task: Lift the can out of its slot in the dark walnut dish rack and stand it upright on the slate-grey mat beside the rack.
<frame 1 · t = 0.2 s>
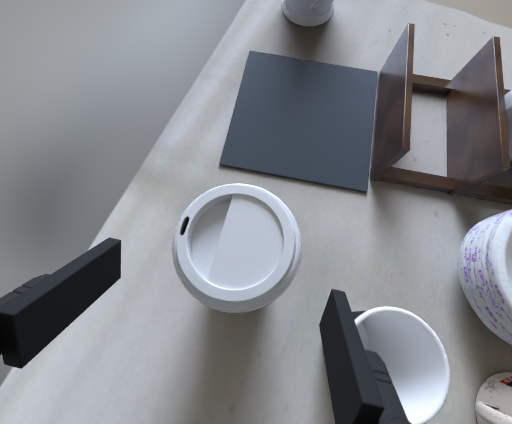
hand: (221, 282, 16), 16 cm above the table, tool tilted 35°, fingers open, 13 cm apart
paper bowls: (499, 280, 31), on the table
coffee cup: (244, 261, 32), on the table
rack: (449, 136, 37), on the table
teacup with lid: (498, 410, 27), on the table
mat: (302, 116, 37), on the table
can: (485, 143, 37), resting in rack
dixie cup: (344, 336, 29), on the table
glass holder: (307, 20, 43), on the table
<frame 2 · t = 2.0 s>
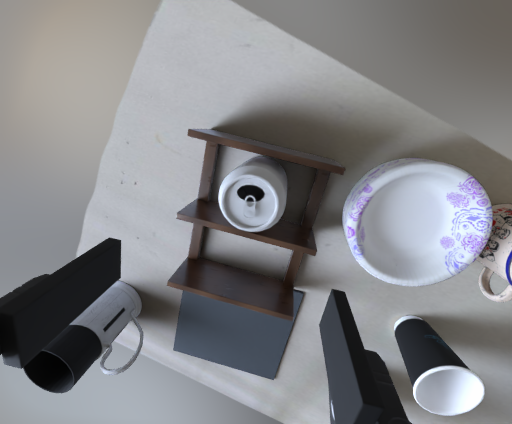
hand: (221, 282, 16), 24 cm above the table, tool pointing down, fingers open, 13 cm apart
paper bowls: (392, 209, 37), on the table
rack: (254, 214, 39), on the table
teacup with lid: (488, 241, 36), on the table
mat: (233, 322, 46), on the table
can: (262, 181, 38), resting in rack
dixie cup: (409, 326, 42), on the table
glass holder: (133, 302, 48), on the table
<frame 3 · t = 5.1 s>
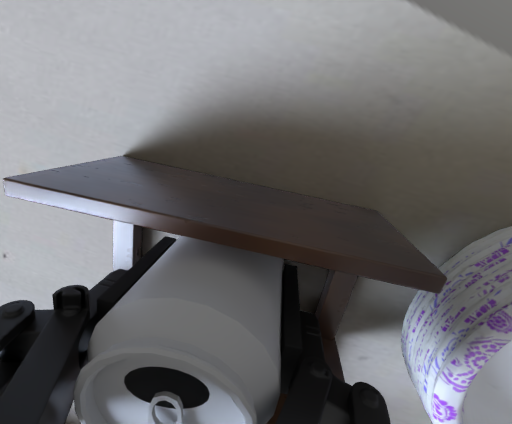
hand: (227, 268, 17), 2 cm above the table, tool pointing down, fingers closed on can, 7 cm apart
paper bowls: (493, 300, 18), on the table
rack: (223, 307, 21), on the table
can: (234, 251, 20), resting in rack, touching gripper
when the fingers open (3 cm above the table, at t = 12.2 s): can stays where it is, resting on mat.
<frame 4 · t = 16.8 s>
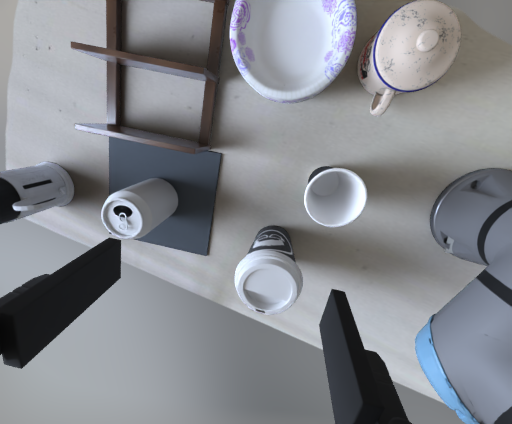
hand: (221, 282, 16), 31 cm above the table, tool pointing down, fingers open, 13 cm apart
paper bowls: (290, 49, 38), on the table
coffee cup: (273, 241, 48), on the table
rack: (164, 70, 41), on the table
teacup with lid: (382, 75, 38), on the table
mat: (161, 196, 48), on the table
can: (161, 196, 48), resting on mat
dixie cup: (323, 181, 44), on the table
glass holder: (66, 185, 49), on the table
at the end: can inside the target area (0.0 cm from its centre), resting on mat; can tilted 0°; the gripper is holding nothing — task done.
